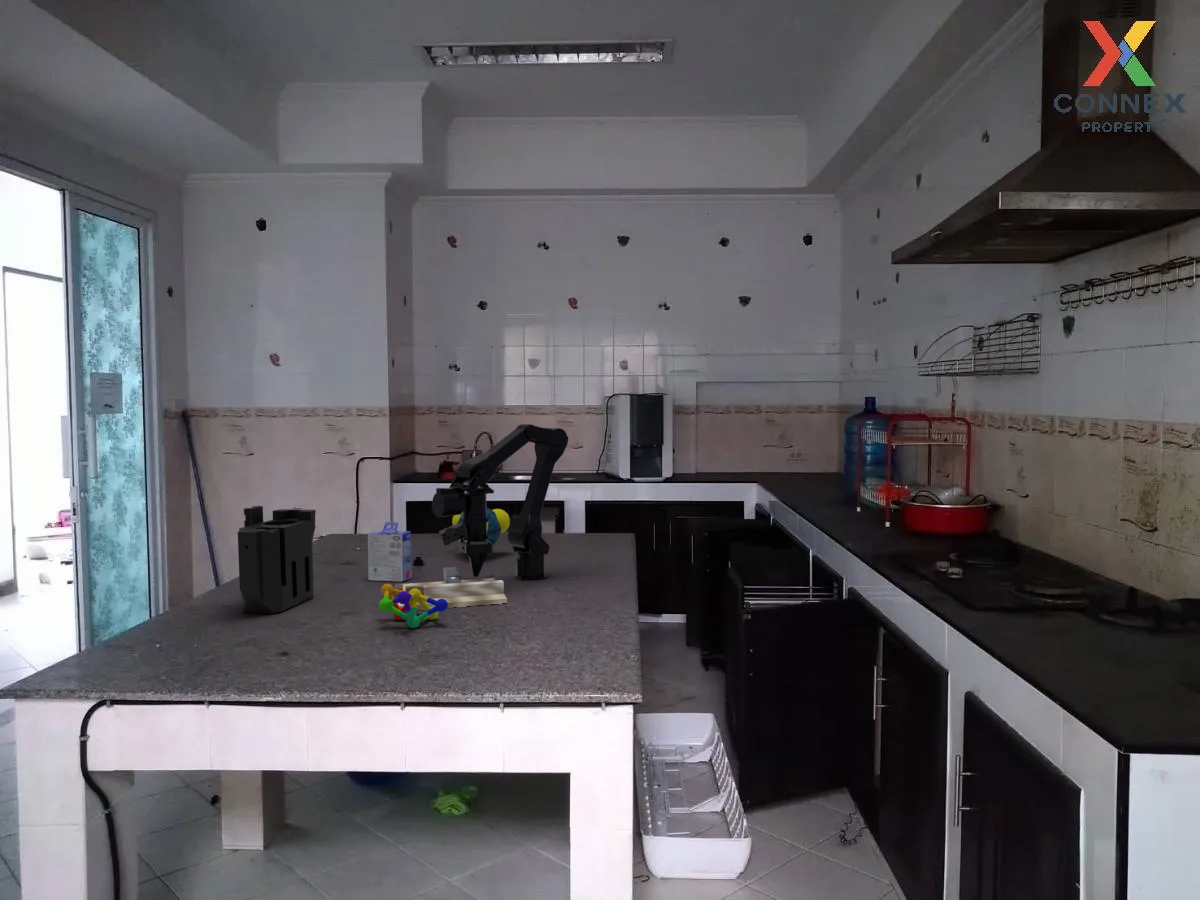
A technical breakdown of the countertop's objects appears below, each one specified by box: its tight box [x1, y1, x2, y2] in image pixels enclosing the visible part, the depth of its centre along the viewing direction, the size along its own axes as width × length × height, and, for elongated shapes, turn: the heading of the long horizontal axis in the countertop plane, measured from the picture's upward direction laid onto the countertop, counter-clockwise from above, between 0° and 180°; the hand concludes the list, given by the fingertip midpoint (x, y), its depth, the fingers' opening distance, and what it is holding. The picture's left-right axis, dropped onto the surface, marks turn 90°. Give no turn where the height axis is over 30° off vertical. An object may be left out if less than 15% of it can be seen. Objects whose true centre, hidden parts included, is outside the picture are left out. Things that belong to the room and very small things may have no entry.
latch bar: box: [442, 566, 462, 584], centre depth 199 cm, size 13×4×3 cm, turn 15°
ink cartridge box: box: [367, 521, 413, 582], centre depth 214 cm, size 10×6×14 cm, turn 78°
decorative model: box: [378, 583, 449, 629], centre depth 173 cm, size 13×9×15 cm
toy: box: [451, 506, 511, 546], centre depth 241 cm, size 16×17×15 cm
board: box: [394, 577, 508, 611], centre depth 196 cm, size 24×22×4 cm
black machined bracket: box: [237, 505, 317, 614], centre depth 188 cm, size 12×21×22 cm, turn 169°
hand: (475, 576), depth 205 cm, fingers closed
